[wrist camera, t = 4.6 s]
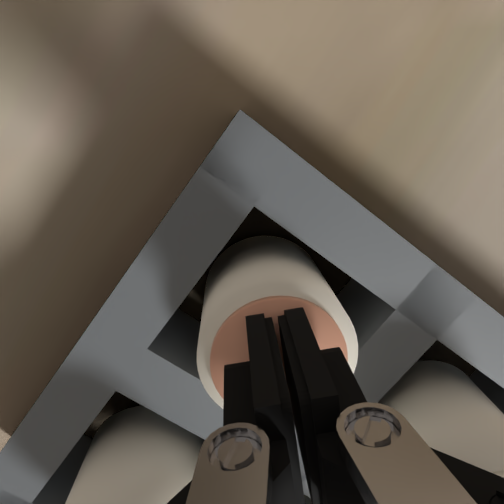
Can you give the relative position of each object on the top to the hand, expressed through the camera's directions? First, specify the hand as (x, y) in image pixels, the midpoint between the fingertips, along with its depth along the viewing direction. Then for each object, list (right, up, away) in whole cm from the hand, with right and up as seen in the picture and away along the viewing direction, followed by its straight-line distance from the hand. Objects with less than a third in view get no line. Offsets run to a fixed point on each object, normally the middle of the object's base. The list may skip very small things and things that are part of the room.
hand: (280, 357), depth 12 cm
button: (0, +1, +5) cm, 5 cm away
